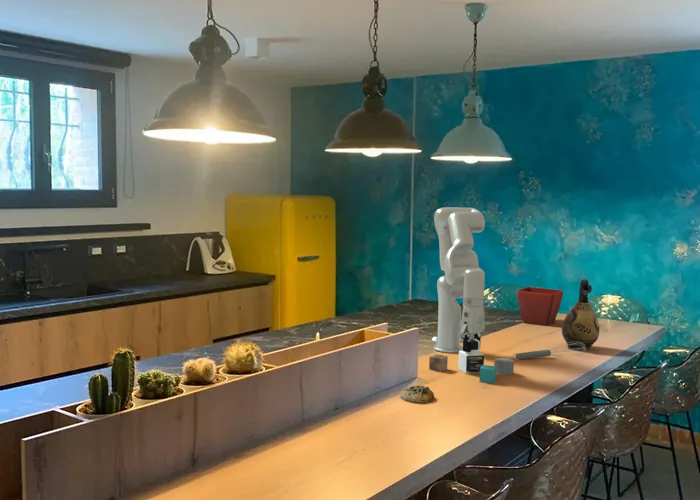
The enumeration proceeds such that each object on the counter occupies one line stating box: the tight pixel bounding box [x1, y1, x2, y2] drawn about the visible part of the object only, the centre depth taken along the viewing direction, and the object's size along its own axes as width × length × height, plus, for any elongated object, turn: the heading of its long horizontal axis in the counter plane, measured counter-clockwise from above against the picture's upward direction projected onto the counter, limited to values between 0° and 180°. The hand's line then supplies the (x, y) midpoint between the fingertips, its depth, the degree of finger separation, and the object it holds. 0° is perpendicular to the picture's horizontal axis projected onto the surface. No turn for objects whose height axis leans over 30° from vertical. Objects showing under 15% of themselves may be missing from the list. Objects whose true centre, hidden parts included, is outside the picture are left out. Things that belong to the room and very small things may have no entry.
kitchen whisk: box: [511, 342, 586, 361], centre depth 279 cm, size 6×34×6 cm, turn 106°
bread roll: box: [399, 385, 435, 404], centre depth 221 cm, size 11×11×5 cm
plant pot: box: [516, 286, 565, 326], centre depth 352 cm, size 19×19×17 cm
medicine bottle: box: [457, 338, 485, 375], centre depth 255 cm, size 7×7×12 cm
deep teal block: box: [479, 364, 497, 384], centre depth 243 cm, size 5×5×5 cm
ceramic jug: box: [561, 278, 600, 352], centre depth 296 cm, size 17×15×30 cm
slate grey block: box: [493, 357, 515, 377], centre depth 254 cm, size 5×5×5 cm
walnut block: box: [428, 354, 449, 373], centre depth 257 cm, size 5×5×5 cm
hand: (471, 349), depth 255 cm, fingers closed on medicine bottle, 6 cm apart
